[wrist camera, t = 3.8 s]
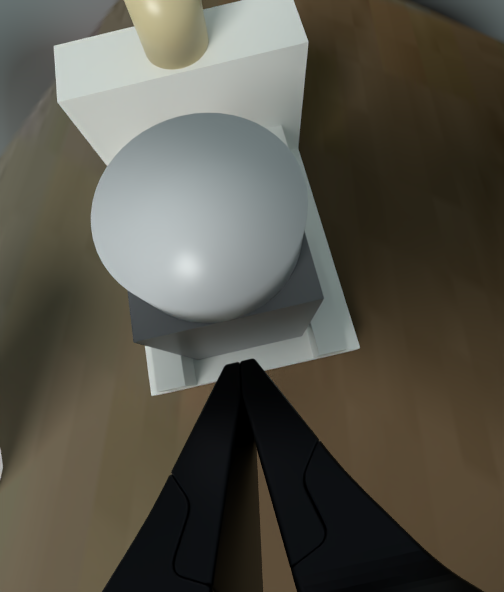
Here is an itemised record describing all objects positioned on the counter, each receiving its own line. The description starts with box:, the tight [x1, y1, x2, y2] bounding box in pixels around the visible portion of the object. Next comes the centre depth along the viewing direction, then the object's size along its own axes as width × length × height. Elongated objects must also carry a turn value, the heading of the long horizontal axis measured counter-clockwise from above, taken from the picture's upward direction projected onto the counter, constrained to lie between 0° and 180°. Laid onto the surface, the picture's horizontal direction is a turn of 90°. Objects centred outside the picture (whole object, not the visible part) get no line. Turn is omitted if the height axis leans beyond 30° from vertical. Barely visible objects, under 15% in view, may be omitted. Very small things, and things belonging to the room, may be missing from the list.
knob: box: [91, 113, 324, 360], centre depth 11 cm, size 5×5×9 cm
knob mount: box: [54, 0, 360, 396], centre depth 13 cm, size 14×10×9 cm
